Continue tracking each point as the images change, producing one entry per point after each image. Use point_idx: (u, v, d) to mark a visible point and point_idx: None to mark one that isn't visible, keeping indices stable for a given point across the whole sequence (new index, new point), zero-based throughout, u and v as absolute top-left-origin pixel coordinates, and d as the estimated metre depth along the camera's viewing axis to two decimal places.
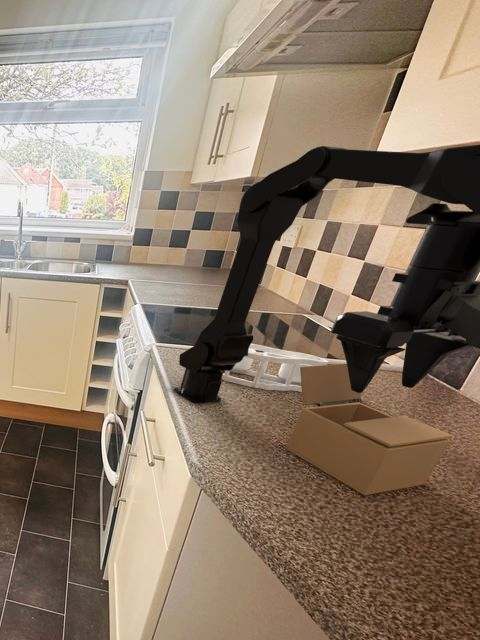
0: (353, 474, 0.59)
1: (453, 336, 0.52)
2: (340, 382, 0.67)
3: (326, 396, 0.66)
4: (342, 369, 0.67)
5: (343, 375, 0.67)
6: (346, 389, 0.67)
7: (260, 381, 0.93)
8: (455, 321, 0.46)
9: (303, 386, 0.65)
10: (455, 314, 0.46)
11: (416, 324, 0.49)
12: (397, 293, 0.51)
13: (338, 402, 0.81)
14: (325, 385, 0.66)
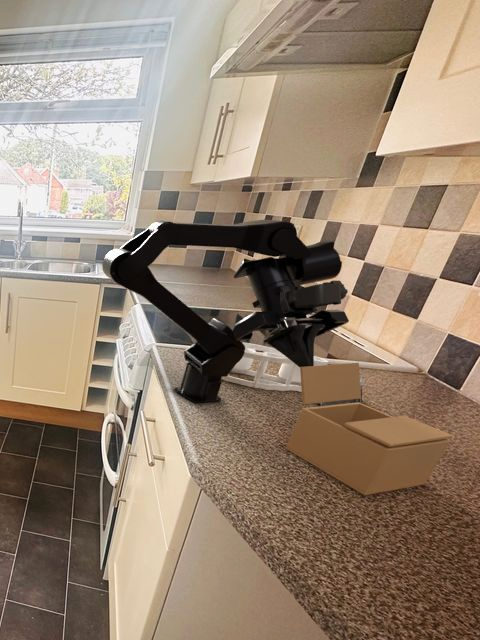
0: (353, 474, 0.59)
1: None
2: (340, 382, 0.67)
3: (326, 396, 0.66)
4: (342, 369, 0.67)
5: (343, 375, 0.67)
6: (346, 389, 0.67)
7: (260, 381, 0.93)
8: (297, 300, 0.68)
9: (303, 386, 0.65)
10: (294, 297, 0.69)
11: (283, 316, 0.71)
12: None
13: (339, 402, 0.81)
14: (325, 385, 0.66)
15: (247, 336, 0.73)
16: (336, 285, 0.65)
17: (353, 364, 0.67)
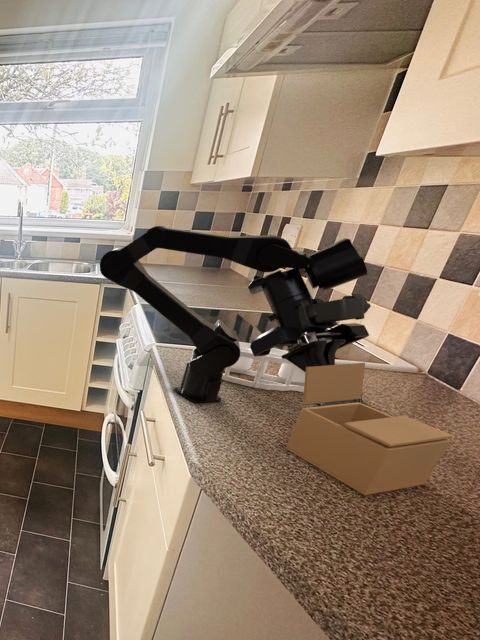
0: (353, 474, 0.59)
1: None
2: (343, 382, 0.66)
3: (327, 396, 0.66)
4: (347, 369, 0.66)
5: (347, 375, 0.66)
6: (348, 389, 0.67)
7: (260, 381, 0.93)
8: (318, 315, 0.65)
9: (306, 386, 0.65)
10: (314, 312, 0.66)
11: (303, 331, 0.68)
12: (279, 325, 0.72)
13: (339, 402, 0.81)
14: (328, 386, 0.66)
15: (265, 352, 0.70)
16: (359, 299, 0.63)
17: (359, 364, 0.67)
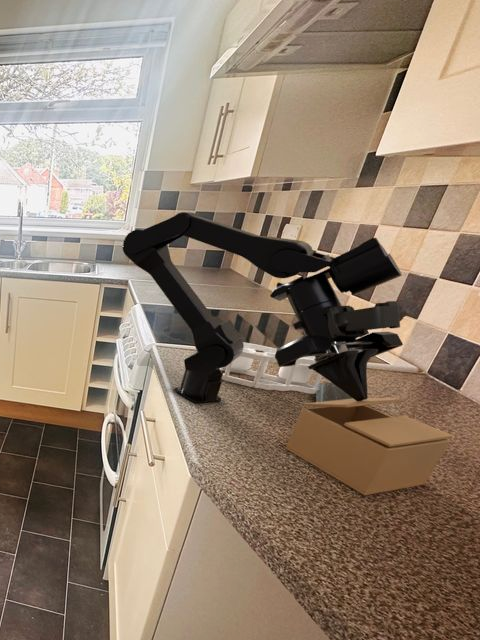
0: (353, 474, 0.59)
1: (354, 350, 0.64)
2: None
3: None
4: None
5: None
6: None
7: (260, 381, 0.93)
8: (349, 323, 0.61)
9: (323, 406, 0.62)
10: (345, 320, 0.62)
11: (332, 340, 0.64)
12: (305, 333, 0.68)
13: None
14: None
15: (291, 362, 0.66)
16: (394, 307, 0.59)
17: None
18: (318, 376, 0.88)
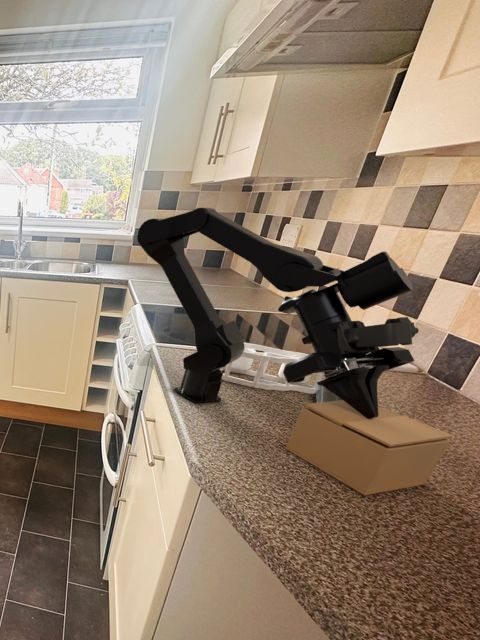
0: (353, 474, 0.59)
1: (364, 367, 0.63)
2: None
3: None
4: None
5: None
6: None
7: (260, 381, 0.93)
8: (360, 340, 0.60)
9: (321, 414, 0.63)
10: (355, 336, 0.61)
11: (342, 357, 0.63)
12: (314, 348, 0.67)
13: None
14: None
15: (299, 378, 0.65)
16: (406, 324, 0.57)
17: None
18: (318, 376, 0.88)
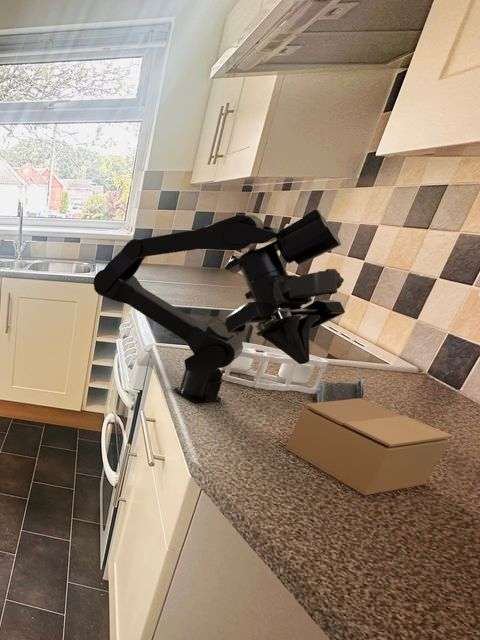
0: (353, 474, 0.59)
1: None
2: None
3: None
4: None
5: None
6: None
7: (260, 381, 0.93)
8: (291, 290, 0.65)
9: (321, 414, 0.63)
10: (288, 287, 0.66)
11: (277, 307, 0.68)
12: None
13: None
14: None
15: (240, 328, 0.70)
16: (332, 273, 0.62)
17: None
18: (318, 376, 0.88)
